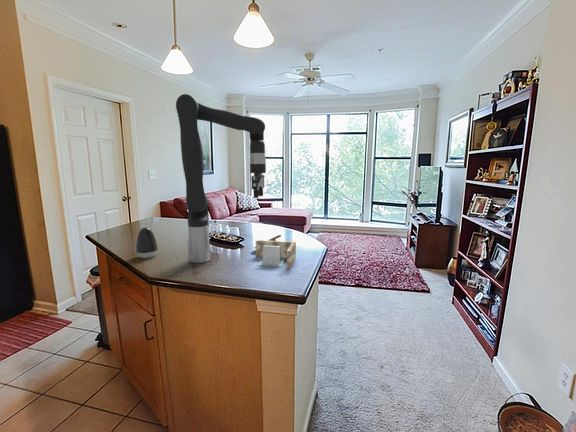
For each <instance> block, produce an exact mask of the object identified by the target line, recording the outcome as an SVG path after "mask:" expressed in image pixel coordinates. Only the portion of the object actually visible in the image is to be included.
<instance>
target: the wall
mask: <svg viewBox="0 0 576 432" xmlns="http://www.w3.org/2000/svg"><path fill="white" fill-rule="evenodd" d="M281 237H282V234H278V235H276V236H274V237H272V238H270V239H267V241H277V240H278V239H279V238H281ZM254 249H255V250H256V246H254Z"/></svg>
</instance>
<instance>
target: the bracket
mask: <svg viewBox="0 0 576 432" xmlns="http://www.w3.org/2000/svg"><path fill="white" fill-rule="evenodd" d="M262 259H263V261H262V262H261V261H260V262H261V265H266V266H265V267H273V266H279V264H280V263H281V260H282V258H281V247H280V246H266V245H264V246H263V257H262Z"/></svg>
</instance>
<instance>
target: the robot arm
mask: <svg viewBox="0 0 576 432" xmlns="http://www.w3.org/2000/svg"><path fill="white" fill-rule="evenodd" d="M175 110H176V113H177V117H178V123H179V128H180V131H179V132H180V148H181V149H180V152H181V153H180V154H181V162H182V168H183V174H184V178H185V188H186V189H185V192H186V193H185V203H186V204H185V205H186V207H187V210H188V212H187V213H188V216H187V217H188V218H187V224H188V225H187V227H188V240H189V241H187V257H188V262H191V263H195V264H200V263H201V264H202V263H207V262H209V261H210V260H211V249H210V248H211V247H210V246H211V245H210V229H209V228H210V227H209V200H208V196H207V195H206V193H205V189H204V181H203V180H204V178H203V177H204V152H203V145H202V140H201V137H200V132H199V128H198V121H205V122H209V123H213V124H217V125H221V126H223V127H227V128H229V129H232V130H236V131H245V132H248V134H249V141H250V142H249V173H250V174H253V175H251V189H252V190H253V199H258V198H259V197H264V187H265V175H264V174H266V171H267V165H266V164H267V163H266V162H267V161H266V159H267V157H266V149H265V148H266V145H265V136H264V135H265V133H264V132H265V130H266V124H265V122H264V121H263V120H262V119H261V118H258V117H253V116H248V115H243V114H241V113H237V112H233V111H230V110H225V109H218V108H214V107H210V106H207V105H204V104H202V103H199V102H198V101H197V100H196V98H195V97H194V96H192V95H191V94H186V93H184V94H181V95H179V96H178V98H177V99H176V102H175Z"/></svg>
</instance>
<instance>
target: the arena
mask: <svg viewBox="0 0 576 432" xmlns="http://www.w3.org/2000/svg"><path fill="white" fill-rule="evenodd" d="M264 245H266V246H280V247H281V259H282V258H283V259H284V258H285V259H286V269H291V268H292V266H293V264H294V262H295V260H296V258H297V254H296V253H297V248H296V246H297V241H287V240H286V241H285V240H276V241H268V240H266V239H265V240H263V239H262V240H259V239H256V240H255V247H256V249H255V256H256V257H259V258H260V257H262V258H263V246H264Z"/></svg>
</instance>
